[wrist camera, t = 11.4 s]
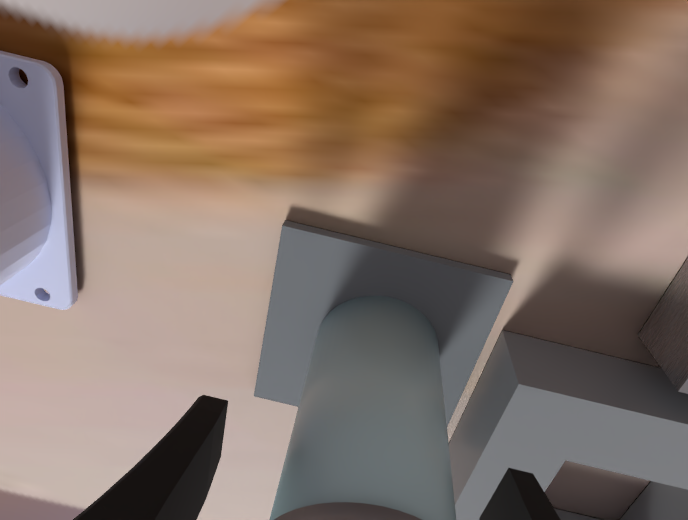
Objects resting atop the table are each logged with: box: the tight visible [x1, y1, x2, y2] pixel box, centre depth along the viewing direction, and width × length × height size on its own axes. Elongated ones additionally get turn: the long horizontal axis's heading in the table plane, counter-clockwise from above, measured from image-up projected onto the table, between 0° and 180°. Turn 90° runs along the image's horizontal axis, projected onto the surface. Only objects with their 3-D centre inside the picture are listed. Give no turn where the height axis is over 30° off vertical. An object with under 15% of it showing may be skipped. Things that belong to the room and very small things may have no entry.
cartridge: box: [270, 296, 456, 520], centre depth 12 cm, size 4×4×8 cm
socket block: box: [449, 330, 688, 520], centre depth 17 cm, size 10×10×2 cm
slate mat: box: [254, 220, 513, 426], centre depth 16 cm, size 7×7×1 cm
